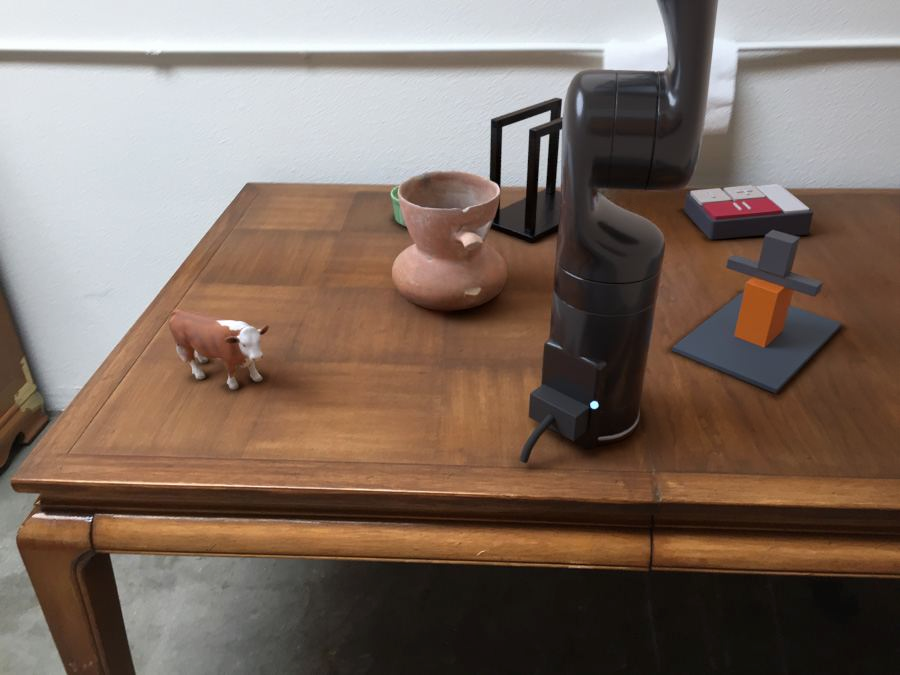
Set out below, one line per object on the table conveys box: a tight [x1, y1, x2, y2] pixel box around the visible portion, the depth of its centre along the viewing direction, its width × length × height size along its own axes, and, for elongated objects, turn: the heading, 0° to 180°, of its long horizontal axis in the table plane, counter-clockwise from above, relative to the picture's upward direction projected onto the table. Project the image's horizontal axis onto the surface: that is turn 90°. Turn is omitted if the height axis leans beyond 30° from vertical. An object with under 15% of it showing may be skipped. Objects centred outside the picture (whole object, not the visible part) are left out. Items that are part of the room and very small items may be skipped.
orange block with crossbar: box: [725, 230, 823, 348], centre depth 85 cm, size 5×10×12 cm, turn 47°
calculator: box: [683, 183, 814, 241], centre depth 115 cm, size 11×4×15 cm
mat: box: [671, 290, 843, 395], centre depth 88 cm, size 18×12×1 cm, turn 137°
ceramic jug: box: [391, 170, 508, 311], centre depth 95 cm, size 18×14×14 cm
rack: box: [489, 97, 563, 244], centre depth 114 cm, size 17×10×16 cm, turn 137°
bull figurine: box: [168, 308, 270, 391], centre depth 80 cm, size 4×13×8 cm, turn 58°
